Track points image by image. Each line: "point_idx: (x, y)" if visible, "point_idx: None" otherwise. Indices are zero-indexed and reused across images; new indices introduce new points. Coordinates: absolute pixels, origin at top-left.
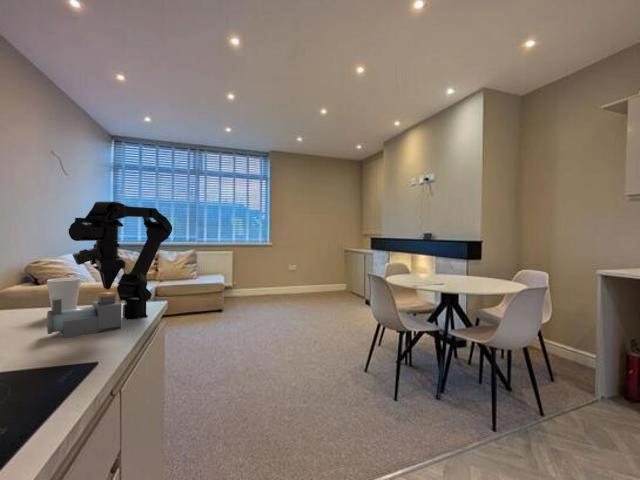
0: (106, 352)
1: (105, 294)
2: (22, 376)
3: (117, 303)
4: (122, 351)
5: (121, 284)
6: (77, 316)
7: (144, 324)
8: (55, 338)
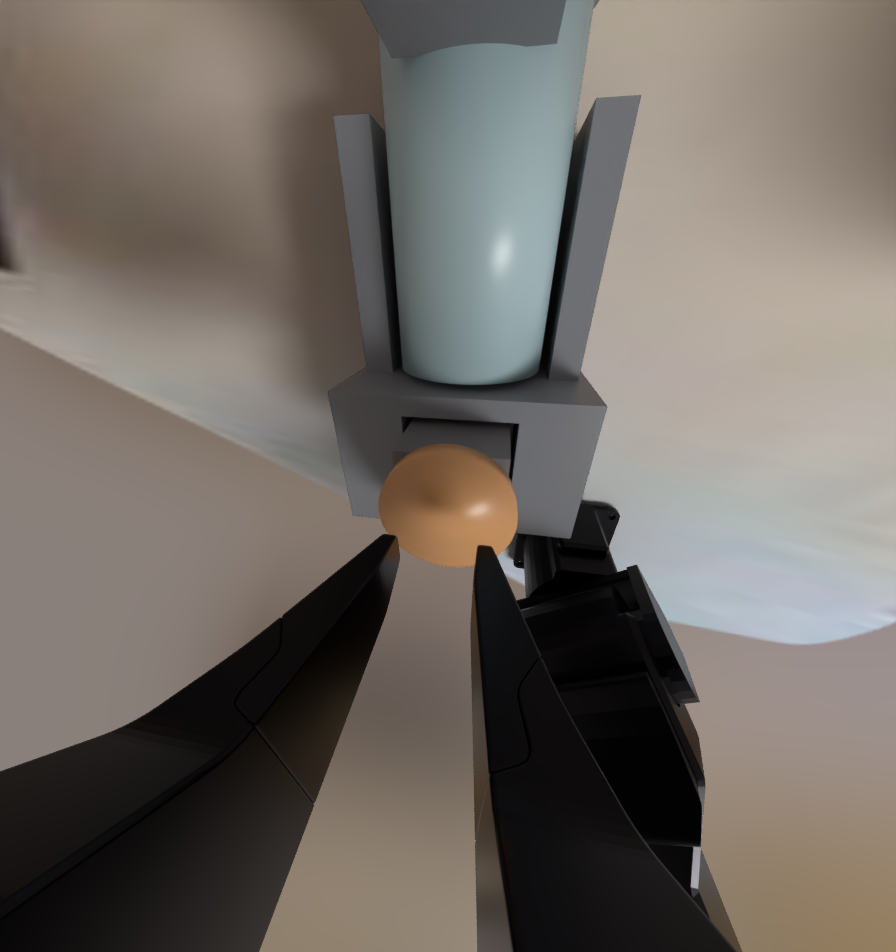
0: (108, 318)
1: (394, 497)
2: None
3: None
4: (110, 367)
5: (597, 678)
6: (393, 241)
7: None
8: None
